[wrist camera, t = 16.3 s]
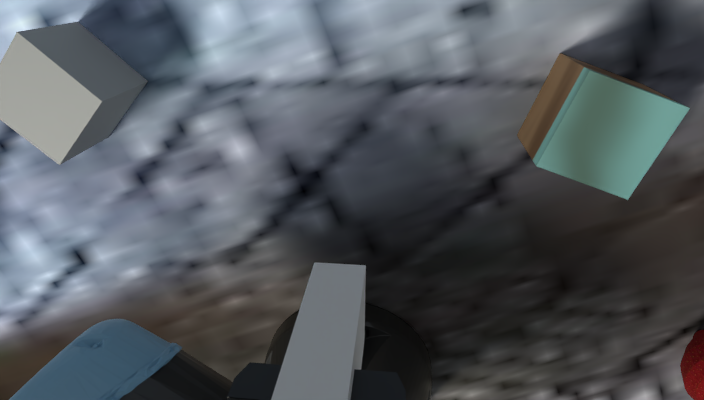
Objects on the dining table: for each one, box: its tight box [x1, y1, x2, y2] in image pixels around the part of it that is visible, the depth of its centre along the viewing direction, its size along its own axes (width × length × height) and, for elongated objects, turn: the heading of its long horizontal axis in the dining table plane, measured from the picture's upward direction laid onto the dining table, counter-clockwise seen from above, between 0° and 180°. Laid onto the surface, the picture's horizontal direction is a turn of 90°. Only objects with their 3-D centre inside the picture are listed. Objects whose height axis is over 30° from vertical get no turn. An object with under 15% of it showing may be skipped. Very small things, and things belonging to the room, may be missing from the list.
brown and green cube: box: [517, 53, 690, 200], centre depth 31 cm, size 6×6×6 cm
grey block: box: [0, 22, 148, 165], centre depth 34 cm, size 6×6×6 cm
